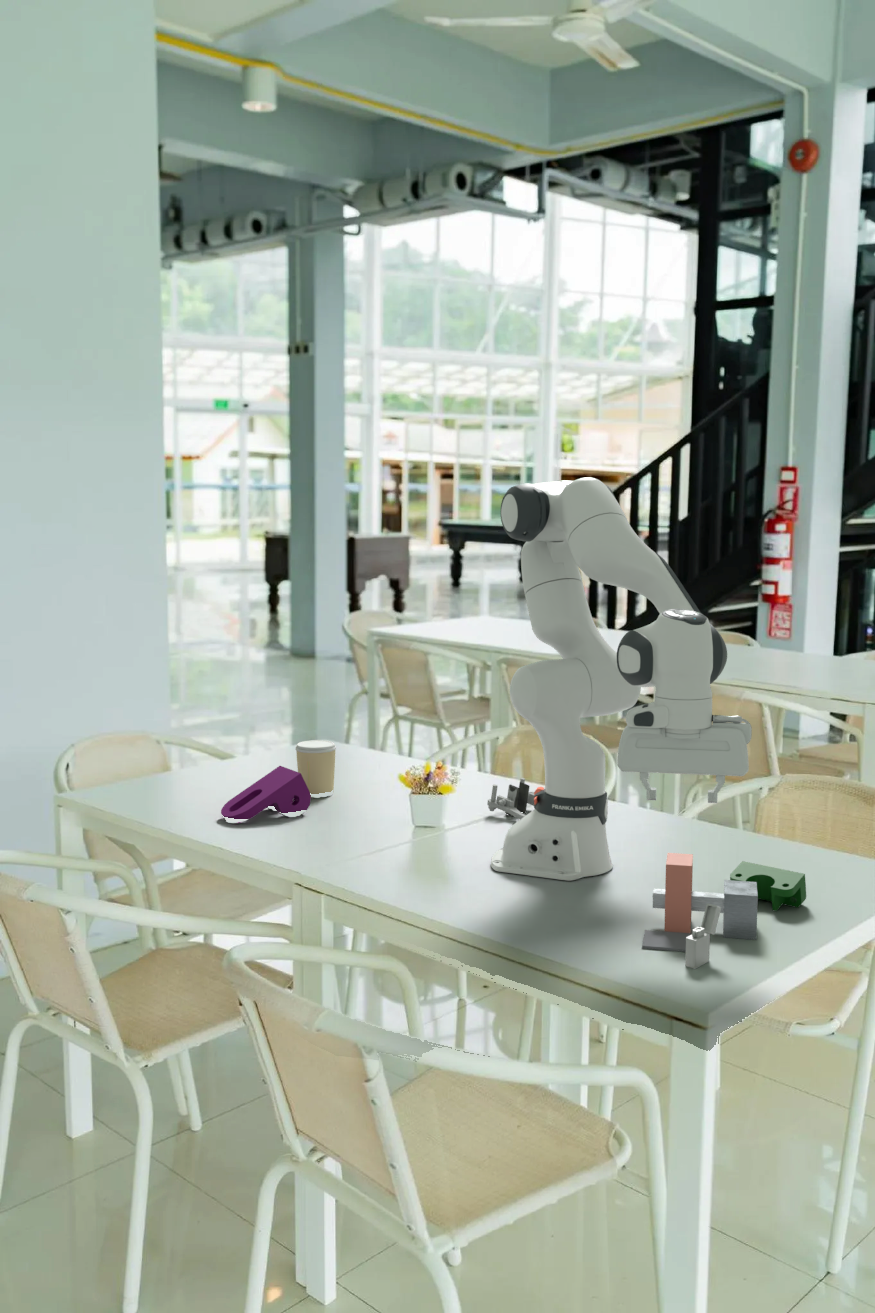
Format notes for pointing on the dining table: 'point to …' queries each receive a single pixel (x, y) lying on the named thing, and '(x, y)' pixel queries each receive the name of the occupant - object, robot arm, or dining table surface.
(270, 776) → the mounting bracket
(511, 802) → the bike brake
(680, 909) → the tall salmon pink brick
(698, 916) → the dining table surface
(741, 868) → the clamp
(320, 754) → the coffee cup
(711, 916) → the lighter
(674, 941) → the mat
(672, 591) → the robot arm
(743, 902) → the vise
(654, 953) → the dining table surface
